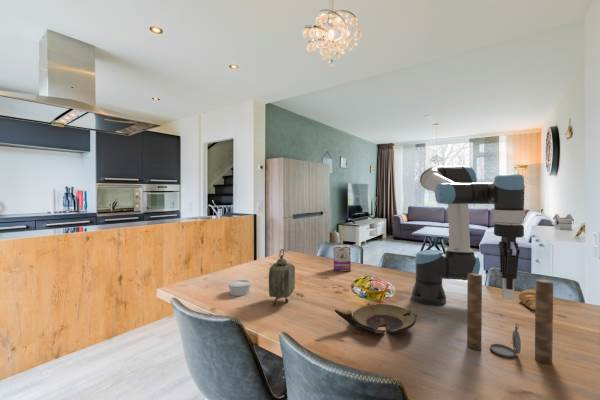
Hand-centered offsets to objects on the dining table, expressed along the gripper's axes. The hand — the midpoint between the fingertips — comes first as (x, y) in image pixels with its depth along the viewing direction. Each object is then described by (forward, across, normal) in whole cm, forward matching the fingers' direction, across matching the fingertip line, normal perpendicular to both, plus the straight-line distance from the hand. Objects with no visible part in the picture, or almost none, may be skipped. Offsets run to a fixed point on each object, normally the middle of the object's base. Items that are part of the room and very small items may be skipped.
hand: (508, 298), depth 87 cm
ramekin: (+18, +11, +111) cm, 113 cm away
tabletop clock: (+18, +9, +85) cm, 87 cm away
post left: (+18, 0, +9) cm, 20 cm away
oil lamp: (+18, +2, +41) cm, 45 cm away
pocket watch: (+18, 0, 0) cm, 18 cm away
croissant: (+18, +53, -21) cm, 60 cm away
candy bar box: (+18, +74, +74) cm, 106 cm away
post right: (+18, 0, -9) cm, 20 cm away
